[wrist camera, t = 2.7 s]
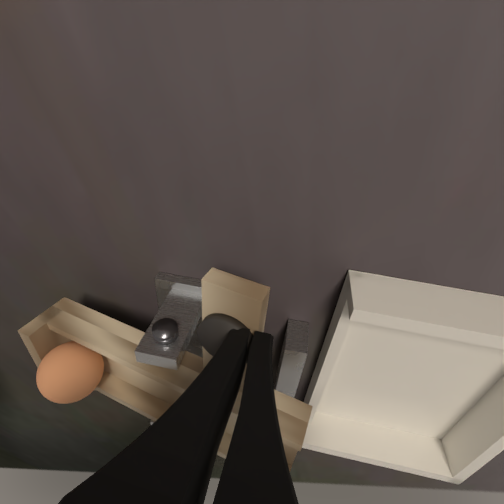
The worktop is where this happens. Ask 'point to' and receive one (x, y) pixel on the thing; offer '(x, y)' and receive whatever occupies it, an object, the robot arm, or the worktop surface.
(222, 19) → the worktop surface
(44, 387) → the egg
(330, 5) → the worktop surface
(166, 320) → the pivot base
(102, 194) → the worktop surface
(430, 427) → the dish
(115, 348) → the lever
